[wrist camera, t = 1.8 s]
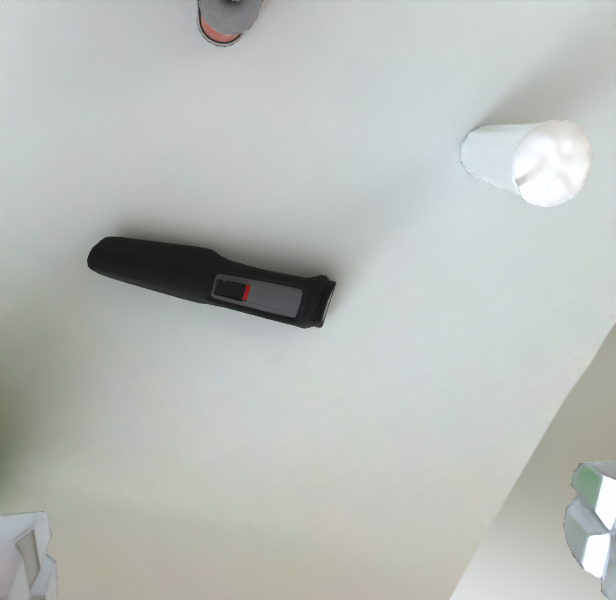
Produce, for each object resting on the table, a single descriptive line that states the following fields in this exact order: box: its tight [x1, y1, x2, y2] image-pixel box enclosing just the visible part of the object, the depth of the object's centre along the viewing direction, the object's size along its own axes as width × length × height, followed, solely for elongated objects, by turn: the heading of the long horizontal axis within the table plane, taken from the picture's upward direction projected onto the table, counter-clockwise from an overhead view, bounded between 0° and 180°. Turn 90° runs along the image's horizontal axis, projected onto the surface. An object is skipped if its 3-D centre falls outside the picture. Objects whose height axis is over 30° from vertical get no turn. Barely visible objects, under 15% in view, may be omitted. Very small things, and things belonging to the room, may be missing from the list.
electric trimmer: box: [87, 237, 336, 329], centre depth 37 cm, size 4×16×3 cm, turn 73°
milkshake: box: [461, 120, 593, 207], centre depth 34 cm, size 4×5×10 cm
